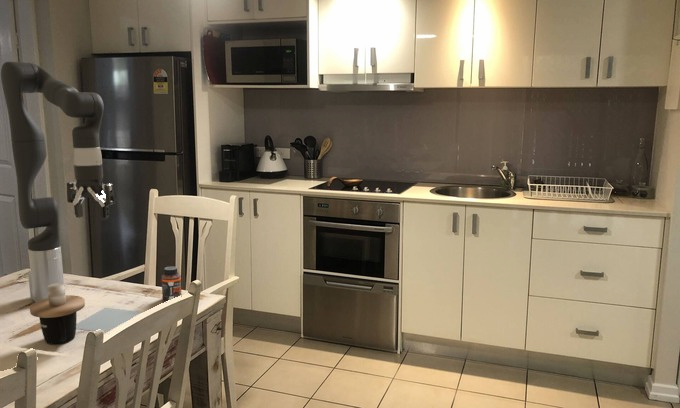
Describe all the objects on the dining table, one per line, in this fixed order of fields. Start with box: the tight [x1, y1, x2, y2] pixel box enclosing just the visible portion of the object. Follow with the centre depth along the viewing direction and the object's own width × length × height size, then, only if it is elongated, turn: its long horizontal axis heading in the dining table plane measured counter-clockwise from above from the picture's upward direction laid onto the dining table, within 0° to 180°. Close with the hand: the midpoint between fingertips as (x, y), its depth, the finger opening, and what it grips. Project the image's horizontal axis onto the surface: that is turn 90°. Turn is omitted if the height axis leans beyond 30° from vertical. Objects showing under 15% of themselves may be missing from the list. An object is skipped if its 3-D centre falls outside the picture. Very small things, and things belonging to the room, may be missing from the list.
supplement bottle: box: [161, 266, 182, 303], centre depth 181 cm, size 6×6×11 cm
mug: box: [38, 312, 77, 346], centre depth 150 cm, size 12×9×10 cm
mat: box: [76, 307, 143, 333], centre depth 165 cm, size 16×16×1 cm
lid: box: [29, 283, 86, 318], centre depth 149 cm, size 13×13×6 cm
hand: (92, 218), depth 165 cm, fingers open, 8 cm apart
